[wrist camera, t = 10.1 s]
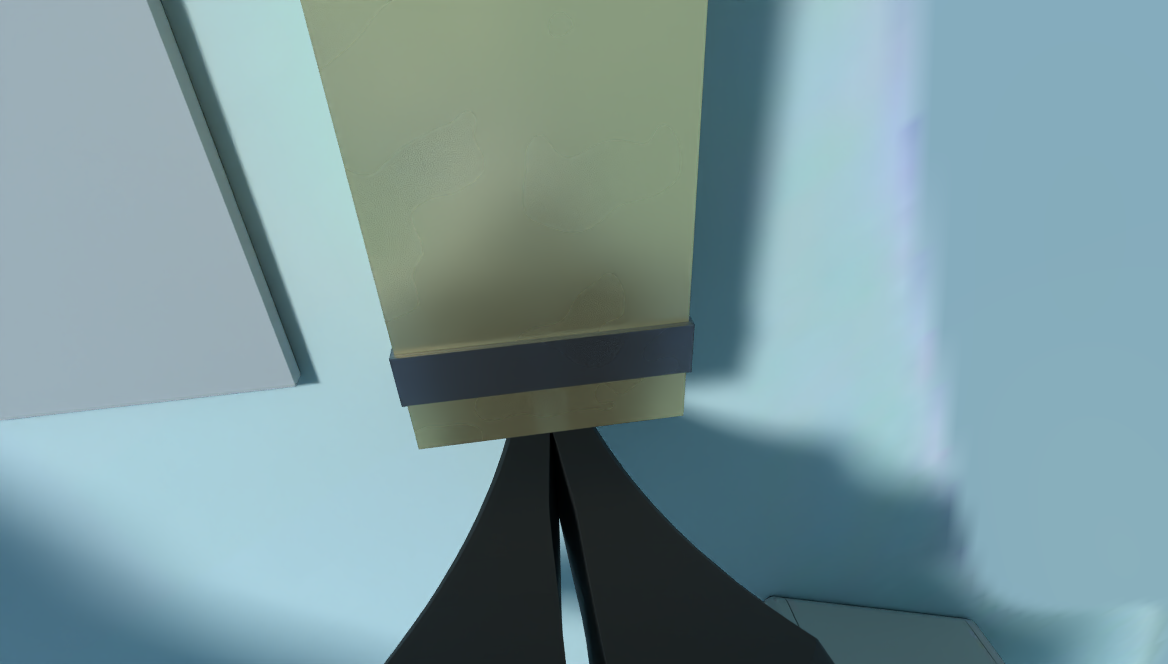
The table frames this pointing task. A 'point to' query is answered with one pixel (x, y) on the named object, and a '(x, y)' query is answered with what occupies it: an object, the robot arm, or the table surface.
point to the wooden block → (523, 202)
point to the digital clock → (887, 634)
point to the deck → (118, 222)
